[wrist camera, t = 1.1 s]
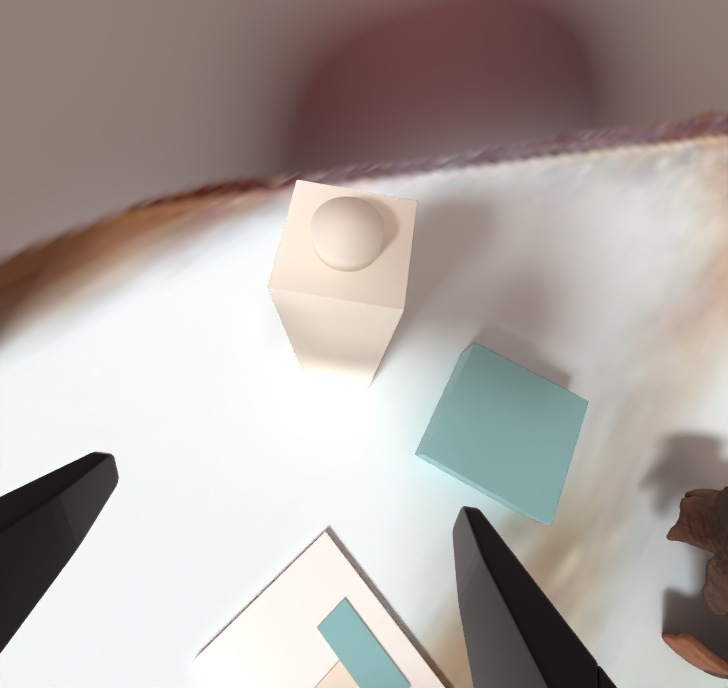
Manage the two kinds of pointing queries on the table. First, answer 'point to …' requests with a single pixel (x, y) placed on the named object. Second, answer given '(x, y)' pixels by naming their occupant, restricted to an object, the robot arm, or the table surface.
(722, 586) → the brown curved loop piece
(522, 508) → the base brick
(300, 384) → the table surface
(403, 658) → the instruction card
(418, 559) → the table surface
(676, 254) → the table surface
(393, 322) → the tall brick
